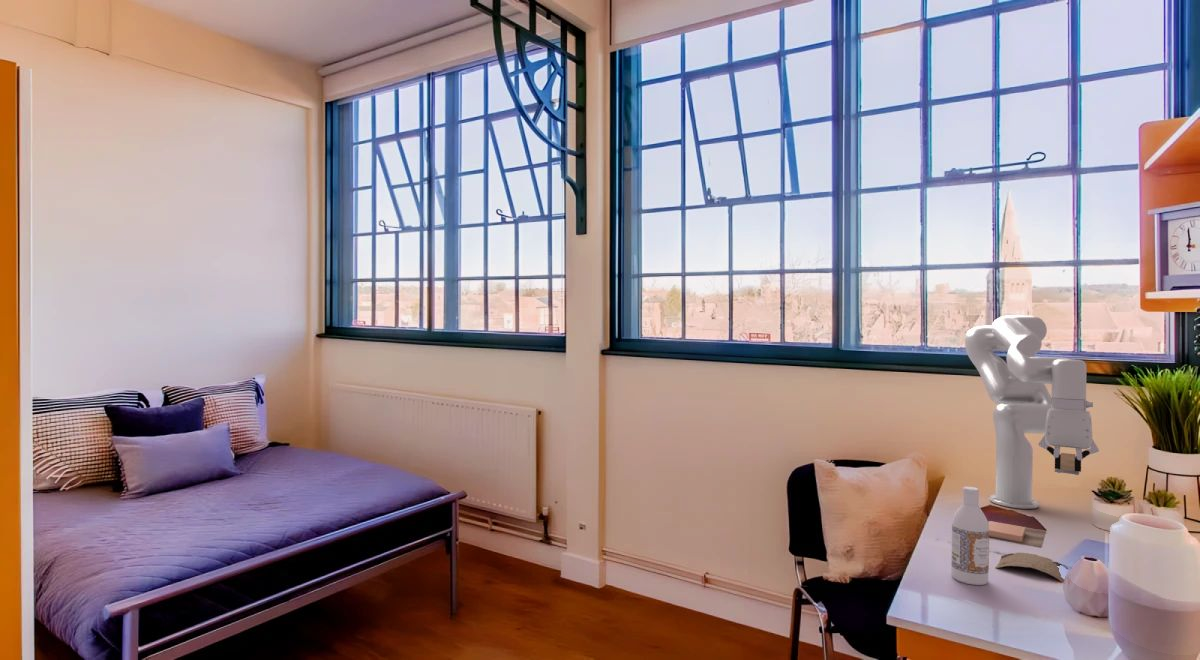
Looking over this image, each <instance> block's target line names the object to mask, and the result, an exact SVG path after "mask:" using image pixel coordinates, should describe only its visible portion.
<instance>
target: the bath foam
mask: <svg viewBox="0 0 1200 660" xmlns="http://www.w3.org/2000/svg"><path fill="white" fill-rule="evenodd" d="M979 492H980V490H979V488H977V487H975V486H963V487H962V502H963V503H961V505H960V506H959V508H958V509H957V510H956V511H955V513H954V515H953V518H952V521H951V563H950V564H951V576H952V578H954V579H955V580H956V581H958V582H960V583H963V584H968V585H970V586H971V585H972V586H984V585H987V584H988V582H989V571H990V569H989V566H990V565H989V563H990V560H989V559H990V538H989V525H988V521H989V520H988V519H987V517H986V514H985V513H984V511H982V509H981V507H980V505H979V495H980V493H979Z"/></svg>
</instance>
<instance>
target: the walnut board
mask: <svg viewBox="0 0 1200 660" xmlns="http://www.w3.org/2000/svg"><path fill="white" fill-rule="evenodd" d="M987 521H988V523H989V521H990V520H987ZM1025 527H1026V526H1025ZM1046 532H1047V531H1046V530H1043V529H1037V528H1031V527H1026V530H1025V535H1024V538H1023V541H1022V542H1017V541H1011V540H1006V539H1001V538H996V537H990V536H989V539H993V540H999V541H1004V542H1007V543H1008V542H1010V543H1015V544H1020V545H1025V546H1029V547H1035V548H1040V549H1041V548H1042V547H1043V543H1044V539H1045V536H1046V534H1047V533H1046Z"/></svg>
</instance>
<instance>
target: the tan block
mask: <svg viewBox="0 0 1200 660" xmlns="http://www.w3.org/2000/svg"><path fill="white" fill-rule="evenodd" d="M1060 455H1061V463H1060V469H1055V468H1054V473H1058V472H1060V473H1059V474H1068V475H1069V474H1070V475H1075V474H1076V475H1075V476H1078V475H1080V472H1077V471H1075V457H1076V453H1066V452H1060Z"/></svg>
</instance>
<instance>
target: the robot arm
mask: <svg viewBox="0 0 1200 660" xmlns="http://www.w3.org/2000/svg"><path fill="white" fill-rule="evenodd" d="M1047 330H1048V328H1047V325H1046V322H1045V321H1044V320H1043V319H1041V317H1039V316H1037V315H1036V316H1035V315H1004V316H1000V317H998V318H996V319H995V320H994V321H993V322H992V324H991V325H981V326H975V327H972V328H971V329H968V331H966V334H965V336H964V346H965V352H966V354H967V356H968V358H969V360H970V361H971V362H972V364H973V365H974V367H975V369H976V370H977V372H978V373H979V375H980V378H981V381H982V383H983V385H984V387H985V389H986V392H987V395H988V397H989V398H990V400H991V401H992V402H993V403H995V404H997V405H996V406H995V407H994V409H993V411H992V419H993V420H992V421H993V424H994V431H995V452H996V454H995V493H994V494H991V495H989V501H990V502H992V503H994V504H996V505H999V506H1003V507H1007V508H1013V509H1023V510H1024V509H1026V510H1027V509H1028V510H1030V509H1036V508H1038V507H1039V503H1038V501H1037V500H1034V499H1033V465H1034V464H1033V463H1034V461H1033V459H1034V458H1033V457H1034V456H1033V453H1034V452H1033V451H1034V450H1033V447H1032V445H1031V442H1030V441H1029V440H1028V439H1027V437H1026V436H1025V434H1043V436H1042V438H1041V439H1040V441H1039V442H1038V446H1039V447H1040V448H1043V449H1044V450H1046V451H1048V452H1049V454H1051V455H1052V456H1053V458H1054V470H1055V469H1060V463H1061V447H1062V448H1071V449H1075V454H1076V455H1075V471H1077V472H1079V473H1081V472H1082V460H1083V459H1085V458H1086V457H1087V456H1089V455H1092V454H1095V453H1099V451H1100V449H1099V447H1098V445H1097V444H1096V442H1095V441H1094V439H1093V424H1092V416H1091V413H1090V411H1089V410H1087V408H1094V403H1093V402H1092V401H1091V402H1090V401H1089V400H1087V368H1088V367H1087V364H1086V362H1085V360H1081V359H1073V358H1071V359H1070V358H1066V357H1058V356H1057V357H1056V356H1055V357H1053V356H1052V357H1049V356H1036V355H1037V354H1038V353H1039V352H1040V351H1041V349H1042V343H1043V342H1042V341H1043V340H1044V339H1045V337H1047V332H1048V331H1047ZM995 352H1007V353H1006V355H1005V357H1006V360H1004V359H1003V358H1001V356H999V355H997V354H996V353H995ZM1048 384H1050V385H1051V393H1049V390H1048V388H1047V386H1046V385H1048ZM1050 394H1051V395H1050ZM1057 474H1061V473H1060V472H1057ZM1074 475H1075V476H1077V475H1076V474H1074Z"/></svg>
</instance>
